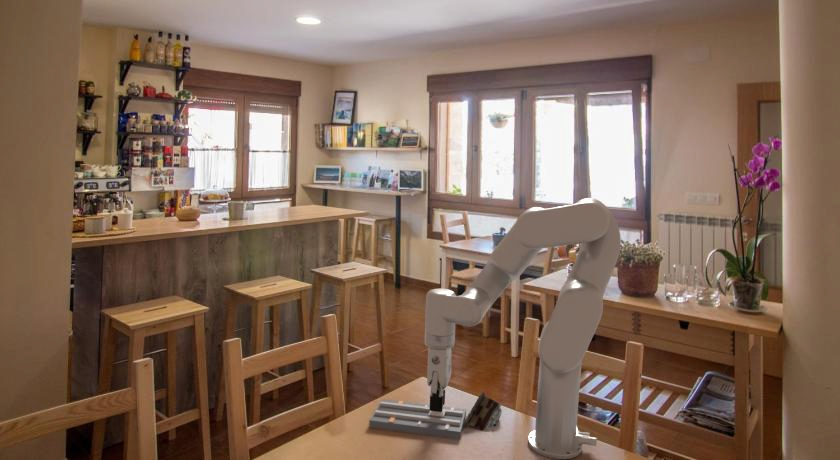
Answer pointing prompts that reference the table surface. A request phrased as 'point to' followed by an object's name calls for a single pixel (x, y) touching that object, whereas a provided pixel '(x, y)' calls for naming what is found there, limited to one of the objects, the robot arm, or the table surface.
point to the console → (417, 419)
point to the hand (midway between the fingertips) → (437, 406)
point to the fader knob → (437, 414)
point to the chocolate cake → (483, 413)
